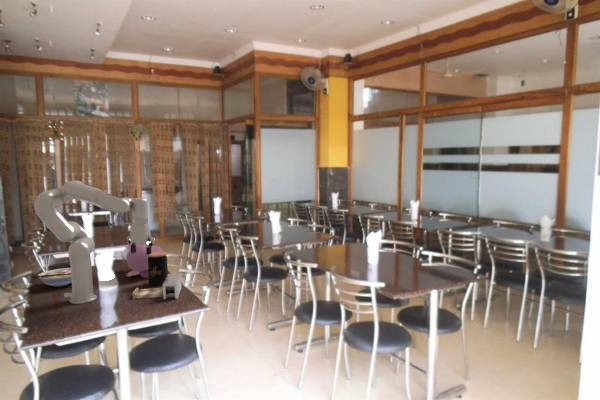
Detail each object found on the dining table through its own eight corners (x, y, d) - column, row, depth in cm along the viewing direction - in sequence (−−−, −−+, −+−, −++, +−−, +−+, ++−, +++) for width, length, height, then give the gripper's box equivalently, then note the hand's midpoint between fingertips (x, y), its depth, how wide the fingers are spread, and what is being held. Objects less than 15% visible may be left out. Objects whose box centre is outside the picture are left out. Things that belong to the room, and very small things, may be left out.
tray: (132, 298, 219) (132, 293, 218) (136, 292, 228) (136, 287, 228) (162, 296, 221) (162, 291, 221) (165, 291, 231) (165, 286, 231)
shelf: (163, 299, 216) (162, 284, 216) (168, 288, 236) (168, 273, 235) (177, 298, 218) (176, 283, 217) (181, 287, 237) (181, 273, 236)
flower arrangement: (123, 277, 277) (111, 237, 273) (158, 265, 289) (147, 226, 286) (133, 285, 247) (120, 239, 244) (172, 271, 259) (160, 227, 256)
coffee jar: (144, 285, 242) (143, 254, 240) (157, 280, 252) (156, 251, 250) (159, 287, 238) (158, 256, 236) (172, 282, 248) (170, 252, 246)
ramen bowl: (88, 277, 260) (87, 264, 259) (81, 288, 238) (80, 274, 237) (42, 282, 252) (41, 268, 251) (31, 293, 230) (30, 278, 230)
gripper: (121, 221, 219) (122, 253, 220) (149, 223, 214) (150, 256, 215) (131, 219, 226) (132, 251, 228) (158, 221, 221) (159, 253, 222)
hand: (141, 253), depth 221 cm, fingers open, 9 cm apart
